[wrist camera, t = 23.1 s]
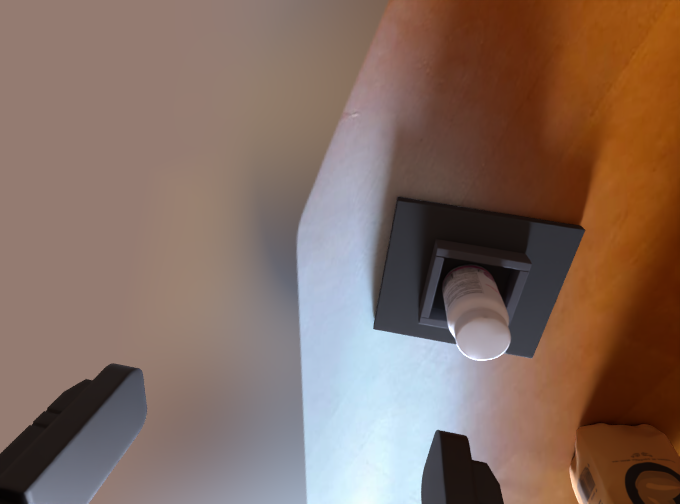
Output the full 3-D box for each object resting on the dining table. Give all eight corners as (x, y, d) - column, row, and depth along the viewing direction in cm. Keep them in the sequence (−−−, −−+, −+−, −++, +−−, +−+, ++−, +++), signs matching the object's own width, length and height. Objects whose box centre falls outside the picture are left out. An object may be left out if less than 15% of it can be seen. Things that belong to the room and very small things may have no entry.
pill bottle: (502, 296, 38) (525, 354, 31) (453, 313, 40) (464, 372, 32) (483, 254, 37) (503, 305, 29) (433, 273, 38) (440, 326, 31)
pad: (373, 323, 43) (371, 341, 40) (397, 196, 37) (397, 207, 34) (529, 352, 42) (538, 372, 39) (581, 225, 36) (595, 239, 33)
